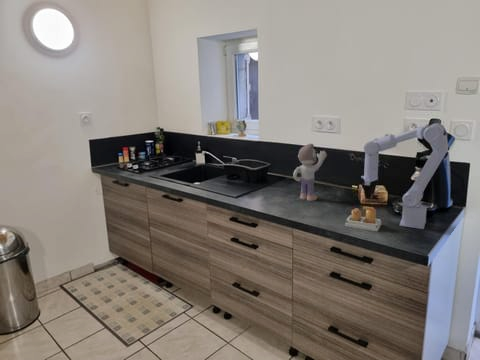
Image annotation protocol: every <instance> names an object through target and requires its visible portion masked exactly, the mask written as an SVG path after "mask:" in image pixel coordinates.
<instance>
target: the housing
mask: <svg viewBox="0 0 480 360" xmlns="http://www.w3.org/2000/svg"><path fill="white" fill-rule="evenodd" d="M381 220H382V219H381V218H375V224H372V223H365V221H366V216H362V210H361V209H359V208H356V207H355V208H354V209H351V214H349V216H348V217H347V218H346V220H345V224H344V226H345V227H347V228H353V229H359V230H365V231H371V232H379V229H380V228H381V226H382V221H381Z"/></svg>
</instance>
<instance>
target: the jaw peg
mask: <svg viewBox="0 0 480 360" xmlns="http://www.w3.org/2000/svg"><path fill="white" fill-rule="evenodd" d="M362 210H365V217H366V221H365V223H372V224H375V219H377V218H376V213H377V209H375V207H373V206H362Z"/></svg>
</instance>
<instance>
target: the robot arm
mask: <svg viewBox="0 0 480 360" xmlns="http://www.w3.org/2000/svg"><path fill="white" fill-rule="evenodd" d="M414 138H415V139H416V138H417V139H419V140H423V139H424V140H425V141H426V142H427V143H429V145H430V147H431V148H432V152H431V153H430V155H429V157H428V159H427V160H426V162H425V164H424V166H423V167H422V169H421V171H420V173H419V174H418V176H417V177H416V179H415V181H414V182H413V184H412V186H411V187H410V188H409V189H408V191H406V193H404V194H403V195H402V202H403V203H402V210H401V211H402V213H401V220H400V222H399V227H407V228H414V229H420V230H424V229H425V225H426V223H427V209H428V208H427V207H428V206H426V205H425V206H424V205H422V202H421V200H422V199H423V196H424V191H425V189H426V187H427V186H428V184H429V182H430V181H431V179H432V177H433V176H434V174H435V172H436V170H437V169H438V168H439V165H441V162H442V161H443V159H444V158H445V155H446V154H447V153H448V150H449V144H448V131H447V129H446V128H445V126H444V125H443V124H441V123H438V122H436V123H432V124H427V125H422V126H419V127H416V128H413V129H410V130H407V131H405V132H402V133H399V134H397V135H395V134H389V133H386V134H384V136H381V137H380V138H379V137H378V138H374V139H373V140H370V141H368V142H366V143H365V144H364V145H363V152H364V153H365V155H364V170H363V171H364V172H363V173H364V174H363V175H361V176H360V177H361V179H363V181H364V182H362V183H361V185H360V186H361V187H362V189H363V193H364V197H365V200H371V199H372V195H375V192H376V188H377V186H378V183H379V182H380V179H379V177H378V173H379V154H380V153H379V152H383V151H386V150H390V149H393V148H396V147H397V145H398V144H399V143H401V142H406V141H408V140H411V139H414Z"/></svg>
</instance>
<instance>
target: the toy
mask: <svg viewBox="0 0 480 360" xmlns="http://www.w3.org/2000/svg"><path fill="white" fill-rule="evenodd" d="M314 145H315V144H313V143H307V144H305V145H304V146H302V147H300V149H299V151H298V155H297V158H298V160H299V162H300V163H301V165H299V166H297V167H296V168H295V169H294V171H293V174H292V175H293V176H292V178H293V179H294V180H295V181H296V182H300V183H301V184H300V185H301V186H300V188H301V189H300V196H299V199H301V200H307V201H310V202H312V201H316V200H317V199H318V196H317V195H316V193H315V185H314V184H315V180H316V178H315V172H317V171H319V169H320V167H321V166H322V164H323V162H324V161H325V159H326V158H327V156H328V154H327V151H325V150H320V152H319V153H316V152H317V150H315V148H314ZM317 158H318V161H317ZM316 162H317V163H316ZM298 174H300V176H298Z"/></svg>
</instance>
